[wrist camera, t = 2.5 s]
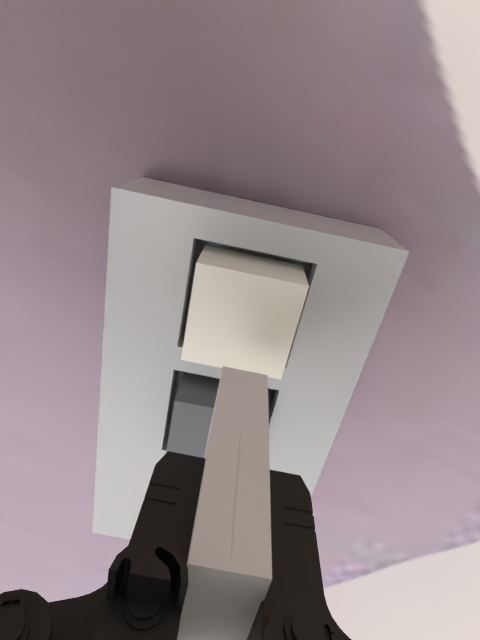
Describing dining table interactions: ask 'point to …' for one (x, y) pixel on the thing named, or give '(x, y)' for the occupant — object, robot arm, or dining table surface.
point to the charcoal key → (193, 414)
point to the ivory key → (243, 311)
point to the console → (167, 367)
